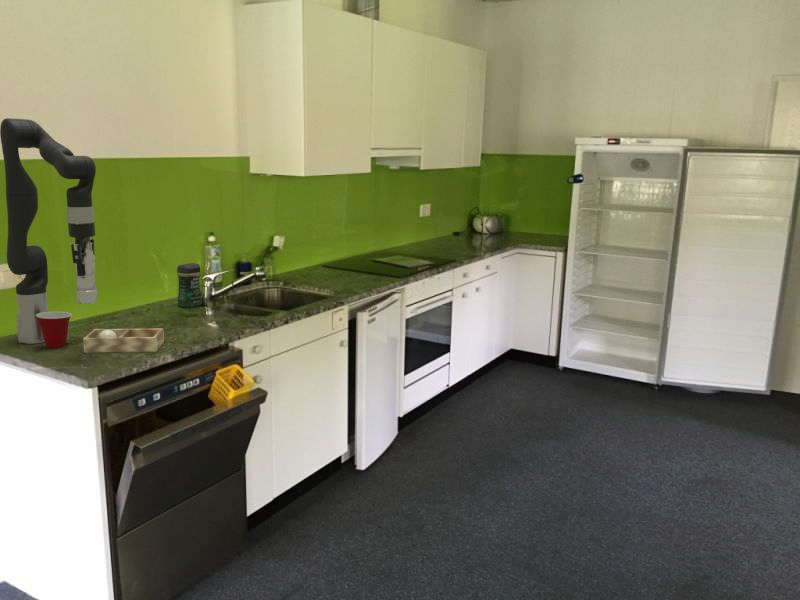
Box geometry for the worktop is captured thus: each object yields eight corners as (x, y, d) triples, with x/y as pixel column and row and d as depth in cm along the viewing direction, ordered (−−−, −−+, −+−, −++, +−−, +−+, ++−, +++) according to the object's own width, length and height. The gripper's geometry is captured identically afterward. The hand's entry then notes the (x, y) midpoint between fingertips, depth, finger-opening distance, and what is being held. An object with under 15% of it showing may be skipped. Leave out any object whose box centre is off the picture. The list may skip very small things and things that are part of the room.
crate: (84, 354, 222) (82, 338, 220) (95, 344, 233) (94, 329, 232) (156, 353, 225) (155, 337, 224) (164, 343, 236) (163, 328, 235)
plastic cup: (81, 346, 230) (78, 312, 228) (50, 354, 221) (46, 318, 219) (63, 341, 236) (60, 308, 234) (32, 348, 227) (29, 313, 225)
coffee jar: (187, 309, 286) (185, 266, 282) (175, 306, 290) (173, 264, 286) (205, 305, 294) (203, 263, 290) (193, 302, 298) (191, 261, 294)
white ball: (96, 349, 225) (95, 332, 224) (101, 344, 231) (100, 327, 229) (115, 349, 226) (113, 332, 224) (119, 344, 231) (118, 327, 230)
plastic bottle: (74, 306, 211) (69, 243, 207) (78, 301, 217) (73, 240, 213) (97, 305, 213) (92, 242, 208) (100, 301, 219) (95, 239, 215)
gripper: (76, 218, 216) (80, 270, 220) (59, 223, 202) (64, 278, 206) (101, 219, 217) (104, 270, 220) (86, 223, 203) (90, 278, 206)
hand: (85, 273), depth 213 cm, fingers closed on plastic bottle, 6 cm apart
